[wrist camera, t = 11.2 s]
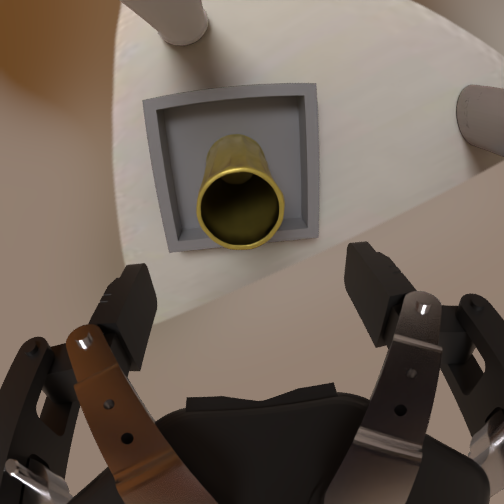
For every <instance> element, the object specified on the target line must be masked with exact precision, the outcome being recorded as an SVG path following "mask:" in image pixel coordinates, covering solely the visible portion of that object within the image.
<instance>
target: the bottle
mask: <svg viewBox="0 0 504 504" xmlns="http://www.w3.org/2000/svg"><path fill="white" fill-rule="evenodd" d="M120 1H121V2H122V3H124V4H125V5H126V6H127V7H129V8H130V9H131V10H133V11H134V12H135V13H136V14H138V15H139V16H140V17H141V18H143V19H144V20H145V21H146V22H147V23H149V24H150V25H151V26H152V27H153V28H155V29H156V30H157V31H158V34H159V35H160V36H161V37H162V39H163V40H164V41H166V42H168V43H170V44H173V45H181V46H185V45H188V44H192V43H194V42H196V41H197V40H199V39H200V38H201V37H202V36H203V34H204V33H205V32H206V30H207V26H208V17H207V13H206V11H205V10H204V9H203V7H202V2H201V0H120Z"/></svg>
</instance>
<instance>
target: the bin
mask: <svg viewBox="0 0 504 504" xmlns="http://www.w3.org/2000/svg"><path fill="white" fill-rule="evenodd" d="M142 101H143V109H144V117H145V125H146V132H147V139H148V145H149V152H150V158H151V164H152V170H153V176H154V181H155V187H156V192H157V197H158V202H159V207H160V212H161V217H162V222H163V227H164V231H165V236H166V240H167V245H168V249H169V253H171V252H180V251H190V250H199V249H209V248H218V247H223V246H221V245H219V244H217V243H215V242H214V241H213V240H212V239H210V238H209V236H208V235H207V234H206V233H205V232H204V231H203V230H202V228H201V226H200V224H199V222H198V219H197V214H196V206H197V198H198V193H199V190H200V187H201V184H202V181H203V177H204V173H205V168H206V158H207V154H208V152H209V150H210V148H211V146H212V145H213V144H214V143H215V142H216V141H217V140H219V139H220V138H222V137H224V136H227V135H232V134H240V135H245V136H247V137H250V138H251V139H253V140H254V141H256V142H257V143H258V144H259V145H260V147H261V149H262V150H263V153H264V155H265V160H266V161H267V163H268V168H269V171H270V173H271V176H272V178H273V180H274V181H275V183H276V184H277V186H278V187H279V189H280V190H281V192H282V193H283V195H284V200H285V208H284V217H283V221H282V223H281V225H280V227H279V229H278V230H277V231H276V233H275V234H274V236H273V237H272V238H271V239H270V240H268V241H267V242H277V241H287V240H297V239H308V238H318V237H319V132H318V107H317V89H316V83H279V84H256V85H242V86H230V87H220V88H212V89H204V90H197V91H190V92H183V93H177V94H172V95H166V96H161V97H156V98H151V99H146V100H142ZM267 242H266V243H267Z"/></svg>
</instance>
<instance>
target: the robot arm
mask: <svg viewBox="0 0 504 504" xmlns="http://www.w3.org/2000/svg"><path fill="white" fill-rule="evenodd" d="M457 120H458V125H459V128H460V131H461V133H462V135H463V137H464V138H465V139H466V141H468V142H469V143H470V144H472V145H474V146H476V147H479V148H482V149H485V150H487V151H490V152H492V153H495V154H498V155H500V156H503V157H504V89H503V88H496V87H489V86H480V85H469V86H467V87H465V88H464V89H463V91H462V92H461V94H460V96H459V99H458V103H457ZM344 282H345V288H346V291H347V293H348V295H349V297H350V298H351V300H352V302H353V304H354V306H355V308H356V310H357V312H358V314H359V316H360V317H361V319H362V321H363V323H364V325H365V327H366V329H367V331H368V333H369V335H370V337H371V339H372V341H373V343H374V345H375V347H376V348H377V347H381V346H385V345H387V347H388V352H387V355H386V358H385V361H384V364H383V366H382V369H381V372H380V375H379V377H378V380H377V382H376V385H375V388H374V390H373V393H372V395H371V397H370V400H368V399H366V398H364V397H361V396H358V395H354V394H348V393H342V392H336V389H335V385H334V383H329V384H322V385H317V386H311V387H304V388H298V389H295V390H293V391H290V392H287V393H285V394H282V395H279V396H276V397H273V398H270V399H267V400H264V401H253V400H245V399H238V398H230V397H224V396H217V397H189V398H188V397H187V401H186V408H183V409H179V410H177V411H174V412H172V413H170V414H167V415H165V416H164V417H162V418H160V419H159V420H157V421H155V420H154V419H153V417H152V416H151V414H150V413H149V411H148V410H147V408H146V407H145V405H144V403H143V402H142V400H141V399H140V397H139V396H138V394H137V392H136V391H135V389H134V388H133V386H132V384H131V383H130V381H129V379H128V378H127V377H128V373H129V371H140V370H141V366H142V362H143V358H144V354H145V350H146V346H147V343H148V339H149V335H150V331H151V328H152V324H153V321H154V317H155V314H156V310H157V297H156V293H155V290H154V287H153V284H152V281H151V277H150V274H149V271H148V268H147V266H146V264H145V263H142V264H132V265H127V266H126V267H125V269H124V271H123V273H122V275H121V277H120V278H116V279H115V280H114V281H113V282H112V283H111V284H110V285H109V286H108V287H107V289H106V291H105V293H104V296H102V298H101V300H100V303H99V304H98V306H97V308H96V310H95V312H94V313H93V315H92V317H91V320H90V322H89V324H87V325H82V326H80V327H78V328H76V329H75V330H73V331H72V332H71V333H70V335H69V336H68V338H67V340H66V343H64V344H61V345H57V346H52V347H50V346H49V344H48V343H47V341H46V340H45V339H44V338H43V337H34V338H31V339H29V340H28V341H26V342H25V343H24V344H23V345H22V346H21V348H20V349H19V351H18V353H17V355H16V357H15V359H14V361H13V363H12V365H11V367H10V369H9V371H8V373H7V376H6V378H5V380H4V382H3V384H2V387H1V389H0V504H489V501H490V497H492V496H493V495H495V494H496V493H498V492H499V491H501V490H503V489H504V320H503V319H502V318H501V316H500V315H499V314H498V313H497V311H496V310H495V309H494V308H493V306H492V305H491V304H490V303H489V302H488V301H487V300H486V299H485V298H483V297H482V296H479V295H477V294H466V295H464V296H463V297H462V298H461V300H460V303H459V306H444V305H441V303H440V301H439V300H438V299H437V298H436V297H435V296H434V295H432V294H430V293H427V292H423V291H417V290H416V289H415V288H414V287H413V285H412V284H411V283H410V282H409V281H408V279H407V278H406V277H405V276H404V274H403V273H401V271H400V270H399V268H398V267H396V265H395V264H394V263H393V261H392V260H391V259H390V258H389V257H387V256H385V255H384V254H382V253H380V252H376V251H375V250H374V249H373V248H372V246H371V245H370V244H369V243H368V242H356V243H349V244H348V247H347V256H346V265H345V275H344ZM475 348H477V349H478V351H479V352H480V354H481V356H482V357H483V359H484V361H485V372H484V373H483V371H482V370H481V368H480V366H479V364H478V363H477V361H476V359H475V358H474V356H473V355H472V353H473V351H474V349H475ZM440 369H441V371H442V373H443V375H444V376H445V379H446V381H447V383H448V385H449V387H450V389H451V391H452V393H453V395H454V397H455V399H456V401H457V403H458V406H459V408H460V410H461V412H462V414H463V417H464V419H465V422H466V424H467V426H468V429H469V431H470V433H471V436H472V440H471V443H470V452H469V454H468V457H467V456H465V455H464V454H461V453H459V452H458V451H456V450H454V449H452V448H451V447H449V446H447V445H445V444H443V443H441V442H440V441H438V440H436V439H434V438H433V437H431V436H429V435H427V434H426V431H427V427H428V423H429V420H430V415H431V411H432V407H433V402H434V398H435V393H436V388H437V382H438V377H439V371H440ZM41 390H42V391H43V392H44V393H45V394H46V395H47V397H46V400H45V403H44V406H43V409H42V412H41V415H40V418H39V417H38V415H37V412H36V405H37V401H38V399H39V396H40V393H41ZM80 406H81V408H82V411H83V413H84V416H85V418H86V420H87V423H88V425H89V428H90V430H91V432H92V434H93V437H94V439H95V441H96V443H97V445H98V447H99V449H100V451H101V453H102V455H103V458H104V459H105V461H106V463H107V465H108V467H107V468H106V469H105V470H104V471H103V472H102V473H100V474H99V475H98V476H97V477H96V478H95V479H94V480H93V481H92V482H90V483H89V484H88V485H87V486H86V487H85V488H84V489H82V490H81V491H80V492H79V493H78V494H77V495H76V496H74V497H72V495H71V494H70V493H69V488H68V486H67V483H66V482H65V474H66V468H67V462H68V457H69V452H70V447H71V442H72V437H73V433H74V429H75V424H76V420H77V416H78V412H79V408H80Z"/></svg>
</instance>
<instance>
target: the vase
mask: <svg viewBox="0 0 504 504" xmlns="http://www.w3.org/2000/svg"><path fill="white" fill-rule="evenodd" d="M284 208H285V200H284V195H283V193H282V192H281V190H280V189H279V187H278V186H277V184H276V183H275V181H274V180H273V178H272V176H271V173H270V171H269V168H268V163H267V161H266V160H265V155H264V153H263V150H262V149H261V147H260V145H259V144H258V143H257V142H256V141H254V140H253V139H251V138H250V137H247V136H245V135H240V134H232V135H227V136H224V137H222V138H220V139H219V140H217V141H216V142H215V143H214V144H213V145H212V146H211V148H210V150H209V152H208V154H207V158H206V168H205V173H204V177H203V181H202V184H201V187H200V190H199V193H198V198H197V206H196V214H197V219H198V222H199V224H200V226H201V228H202V230H203V231H204V232H205V233H206V234H207V235H208V236H209V238H210V239H212V240H213V241H214V242H215V243H217V244H219V245H221V246H223V247H225V248H228V249H233V250H247V249H253V248H256V247H258V246H260V245H262V244H264V243H266V242H267V241H268V240H270V239H271V238H272V237H273V236H274V234H275V233H276V231H277V230H278V229H279V227H280V225H281V223H282V221H283V217H284Z"/></svg>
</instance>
